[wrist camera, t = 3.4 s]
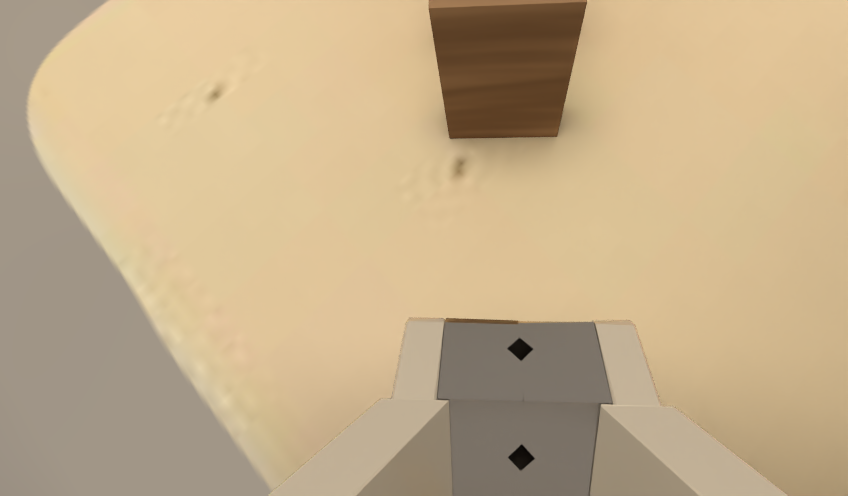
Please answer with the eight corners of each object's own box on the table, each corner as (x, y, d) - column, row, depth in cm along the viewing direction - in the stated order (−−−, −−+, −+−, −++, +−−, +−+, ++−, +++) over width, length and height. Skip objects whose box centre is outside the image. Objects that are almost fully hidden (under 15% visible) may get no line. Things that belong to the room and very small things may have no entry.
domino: (557, 136, 30) (586, 1, 20) (449, 138, 30) (428, 7, 21) (556, 105, 30) (585, -42, 20) (450, 107, 31) (429, -35, 21)
